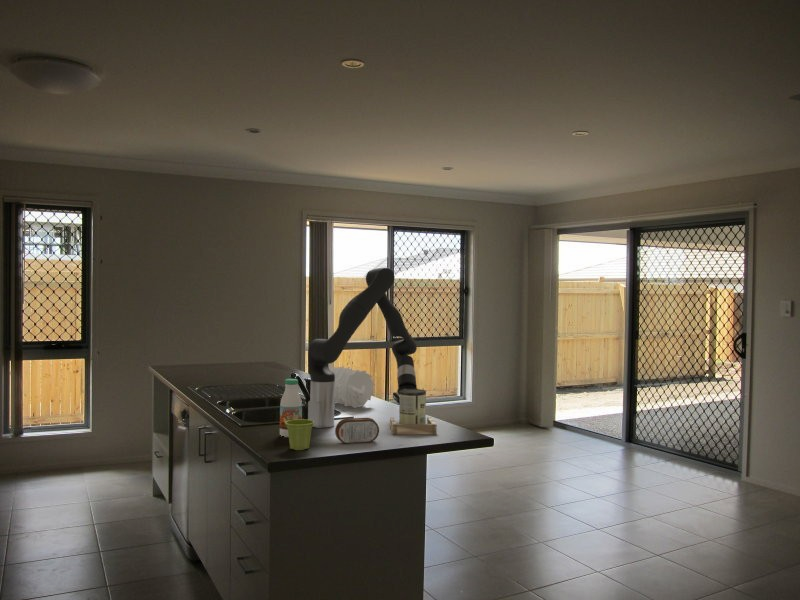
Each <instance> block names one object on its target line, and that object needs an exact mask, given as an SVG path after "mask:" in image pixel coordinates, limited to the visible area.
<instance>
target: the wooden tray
mask: <svg viewBox="0 0 800 600" xmlns="http://www.w3.org/2000/svg"><path fill="white" fill-rule="evenodd" d="M426 420H427V421H426V422H427V423H425V424H399V423H397V421H396V419H395V417H389V428H390V431H391V433H392V435H437V423H436V422H435V420H434V419H433V417H427V418H426Z"/></svg>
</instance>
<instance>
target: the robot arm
mask: <svg viewBox="0 0 800 600" xmlns="http://www.w3.org/2000/svg"><path fill="white" fill-rule="evenodd" d="M365 281H366V285H367V287H366V288H365V289H364V290H362V291H361V292H359V293H358V294H357V295H355V296H354V297H353V298H352V299H350V300H349V301H348V302H347V304H346V305H345V306H344V307H343V309H342V310H341V312H340V314H339V318H338V326H337V329H336V330H335V331H334V333H333V334H332V335H331V336H330V337H329V338H326V339H325V338H315V339H313V340H312V341H310V344H309V345H308V346H309V347H308V351H307V352H308V353H307V355H308V356H307V358H308V359H307V360H308V361H307V362H308V363H307V364H308V366H307V367H308V374H309V376H310V388H309V389H310V390H309V391H310V399H309V400H308V402H307V404H308V405H307V420H312V421H314V424H313V427H312V428H317V429H321V428H331V427H335V402H334V396H335V375H334V373H333V372H332V371H331V370H330V368H329V367H328V365H329V364H333V363H335V362H336V361H337V360H338V359H339V357H340V355H342V352H343V351H344V349H345V347H346V345H347V344H348V343H349V341H350V339H351V338H352V337H353V335H354V333H355V332H357V330H358V329H359V327H360V326H361V325H362V323H363V322H364V321H365V319H366V318H367V317H368V315H369V313H370V312H371V311H372V310H373V308H374V307H375V305H376V304H377V306H378V308H379V309H380V312H381V314H382V315H383V318H384V320H385V324H386V325H387V329H388V332H389V334H390V336H391V337H393V338H395V337H399V338H402V339H401V340H397V341H394V342H393V343H392V345H391V351H392V354H393V356H394V358H395V361H396V365H397V367H396V368H397V373H396V374H397V375H396V377H397V378H396V379H397V391H396V392H393V393H392V399H394V401H396V403H397V404H398V405H400V393H399V391H400V390H403V389H418V388H417V387H418V386H417V377H416V371H415V363H414V358H413V357H412V356H411V355H413V354H416V351H417V350H418V348H417V347H418V345H417V344H416V342H415V340H414V338H413V337H412V336H411V334H410V333H409V331H408V330H407V327H406V325H405V322H404V320H403V317H402V314H401V312H400V311H399V309H398V308H397V307H396V306H395V305H394V304H393V303H392V301H391V300H390V299H389V297H388V295H387V294H386V293H387V292H388V291H389V290H390V289H391V288H392V286H394V285H393V284H394V282H395V272H394V271H393V269H392V268H390V267H388V266H387V267H384V266H383V267H377V268H373V269H371V270H369V271H367V272H366V275H365Z"/></svg>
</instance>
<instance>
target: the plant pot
mask: <svg viewBox="0 0 800 600" xmlns="http://www.w3.org/2000/svg"><path fill="white" fill-rule="evenodd" d="M285 424H286V425H287V429H288V435H289V437H288V442H289V449H290V450H295V451H303V450H306V449H307V450H308V449H309V448H310V445H311V444H310V442H311V435H312V428H314V427H313V424H314V421H312V420H308V419H304V418H302V419H297V420H289V421H286V422H285Z"/></svg>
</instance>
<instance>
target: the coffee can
mask: <svg viewBox="0 0 800 600" xmlns="http://www.w3.org/2000/svg"><path fill="white" fill-rule="evenodd" d="M399 393H400V396H399V397H400V404H398V405H399V411H398V412H399V415H398V416H399V420H398V421H399V422H398V424H426V420H427V418H426V413H427V412H426V409H427V407H426V406H427V404H426V403H427V401H426V399H427V398H426V397H427V396H426V395H427V394H426V393H427V390H425V389H420V388H417V389H403V390H400V391H399Z"/></svg>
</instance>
